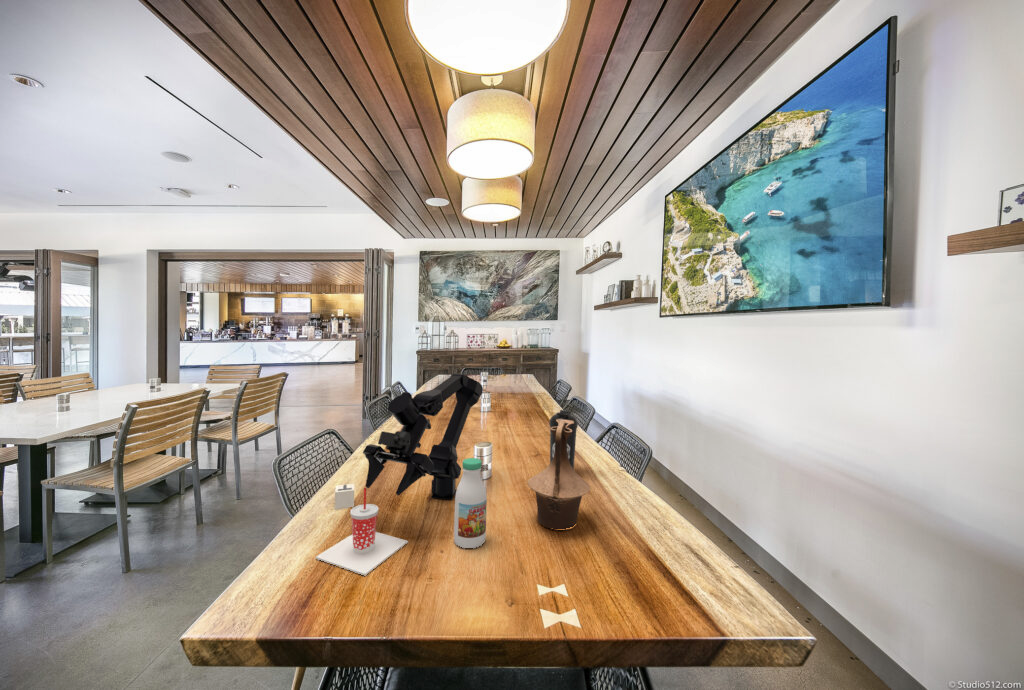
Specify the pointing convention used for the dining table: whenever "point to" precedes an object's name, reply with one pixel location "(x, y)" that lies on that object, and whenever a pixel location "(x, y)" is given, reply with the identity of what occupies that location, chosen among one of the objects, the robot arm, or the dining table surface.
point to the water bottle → (572, 438)
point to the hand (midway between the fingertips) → (381, 490)
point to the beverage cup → (364, 526)
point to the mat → (361, 562)
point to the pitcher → (559, 485)
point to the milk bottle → (470, 506)
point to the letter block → (344, 496)
